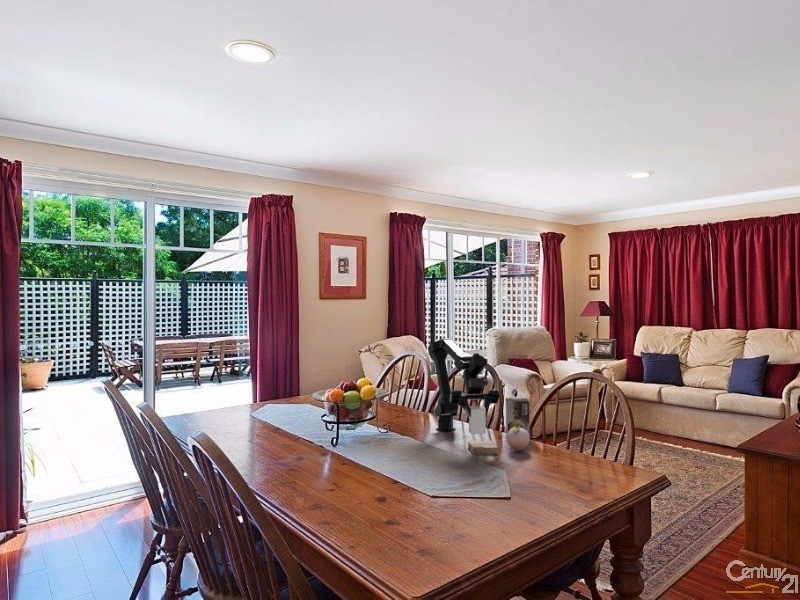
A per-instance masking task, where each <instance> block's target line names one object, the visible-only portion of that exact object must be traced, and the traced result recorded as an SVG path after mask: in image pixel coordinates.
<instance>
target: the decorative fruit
mask: <svg viewBox="0 0 800 600" xmlns="http://www.w3.org/2000/svg"><path fill="white" fill-rule="evenodd" d="M506 439H507V444H508V445H509V446H510V448H511V449H513V450H514V451H516V452H519V451H522V450H523V449H525V448H526V447H527V446H528V445H529V443H530V440H529V434H528V432H527V431H526V430H525V429H523V428H521V427H520V426H518V425H517V426H515V427H514V428H511V429H510V430H509V431H508V434H507V437H506Z"/></svg>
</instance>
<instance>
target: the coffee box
mask: <svg viewBox="0 0 800 600" xmlns="http://www.w3.org/2000/svg"><path fill="white" fill-rule="evenodd" d="M517 425H518V426H520V427H521V428H523V429H525V430H526V431H527V432H528V434H529V441H531V439H530V438H531V437H530V436H531V435H530V434H531V433H530V432H531V430H530V401H529V399H528V398H525V397H507V398H506V397H505V437H506V438H507V434H508V431H509V430H510V429H511V428H514V427H515V426H517Z"/></svg>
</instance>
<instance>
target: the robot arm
mask: <svg viewBox="0 0 800 600" xmlns="http://www.w3.org/2000/svg"><path fill="white" fill-rule="evenodd" d="M427 351H428V353H429V358H430V359H431V360H432V361H433V362H434V366H435V372H436V377H437V384H438V390H439V396H438V399H437V405H436V407H435V409H434V416H436V417H437V418H438V421H437V423H438V424H437V428H435V430H437V431H440V432H444V433H448V432H449V433H450V432H451V431H455V430H456V427H454V417H457V416H458V412H459V411H458V410H459V406H460V407H461V408H462V409H463V410H464V411H465V413H466V414H467V415H468V417H469V416H470V417H471V412H470V407H469V406H470V405H469V404H470V403H469V400H483V403H482V406H484V407H485V408H486V415H488V414H487V413H488V406H491V404H498V403H499V400H500V396H501V395H500V394H501V393H500V391H499V390H498V389H488V391H487V393H483V392H484V391H483V390H484V389H483V387H486V386H488V385H489V381H488V377H487V376H481V377H479V375H481V374H482V373H483V371H484V369H486V366H487V364H488V361H487V358H486V357H484V356H482V355H480V353H479V352H477V353H476V352H474V353H473V355H472V354H470V353H469V352H465V351H463V350H462V349H460V348H459V347H458V345H456V343H454V342H453V339H452V338H451V337H450V338H449V337H443V338H440V339H438V340H437V341H433V342H431V343H430V344H429V345H428V346H427ZM448 355H449V356H450V357H451V358H452V359H453V365H454V366H455V368H456V369H457V370H458V371H461V370H463V372H462V376H461V379H463V380H464V386H465V387H464V390H465V392H462V390H461V389H460V390H459V389H458V390H454V389H453V390H452V389H451V385H450V380H449V374H448V369H447V367H448V366H447V363H446V362H447V361H446V360H447V358H448Z"/></svg>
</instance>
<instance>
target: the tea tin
mask: <svg viewBox="0 0 800 600" xmlns="http://www.w3.org/2000/svg"><path fill="white" fill-rule="evenodd" d="M469 407H470V412H471V417H470V416H469V415H468V432H469V433H470V435H481V434H482V435H486V433H487V432H486V427H487V425H486V424H487V423H486V422H487V421H486V417H487V414H486V408H485V407H484V406H483V405H482V406H481V405H480V406H478V405H477V406H476V405H475V406H473V405H472V406H471V405H469Z"/></svg>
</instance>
